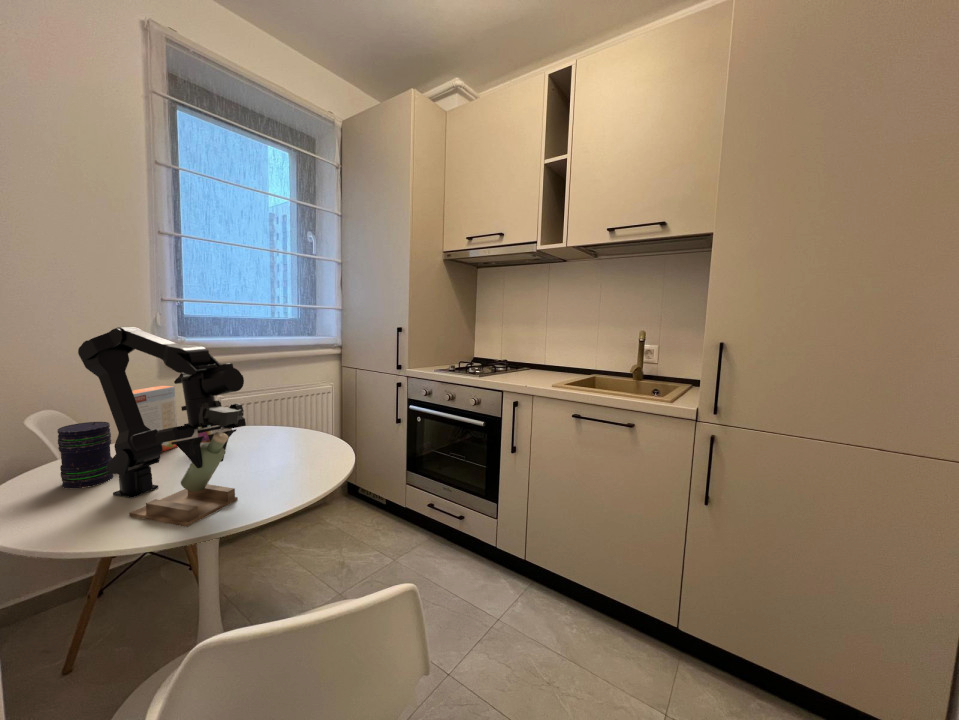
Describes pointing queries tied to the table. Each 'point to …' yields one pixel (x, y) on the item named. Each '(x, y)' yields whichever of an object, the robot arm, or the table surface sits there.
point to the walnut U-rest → (187, 505)
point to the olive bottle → (205, 463)
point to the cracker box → (158, 409)
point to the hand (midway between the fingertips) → (210, 464)
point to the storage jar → (84, 454)
